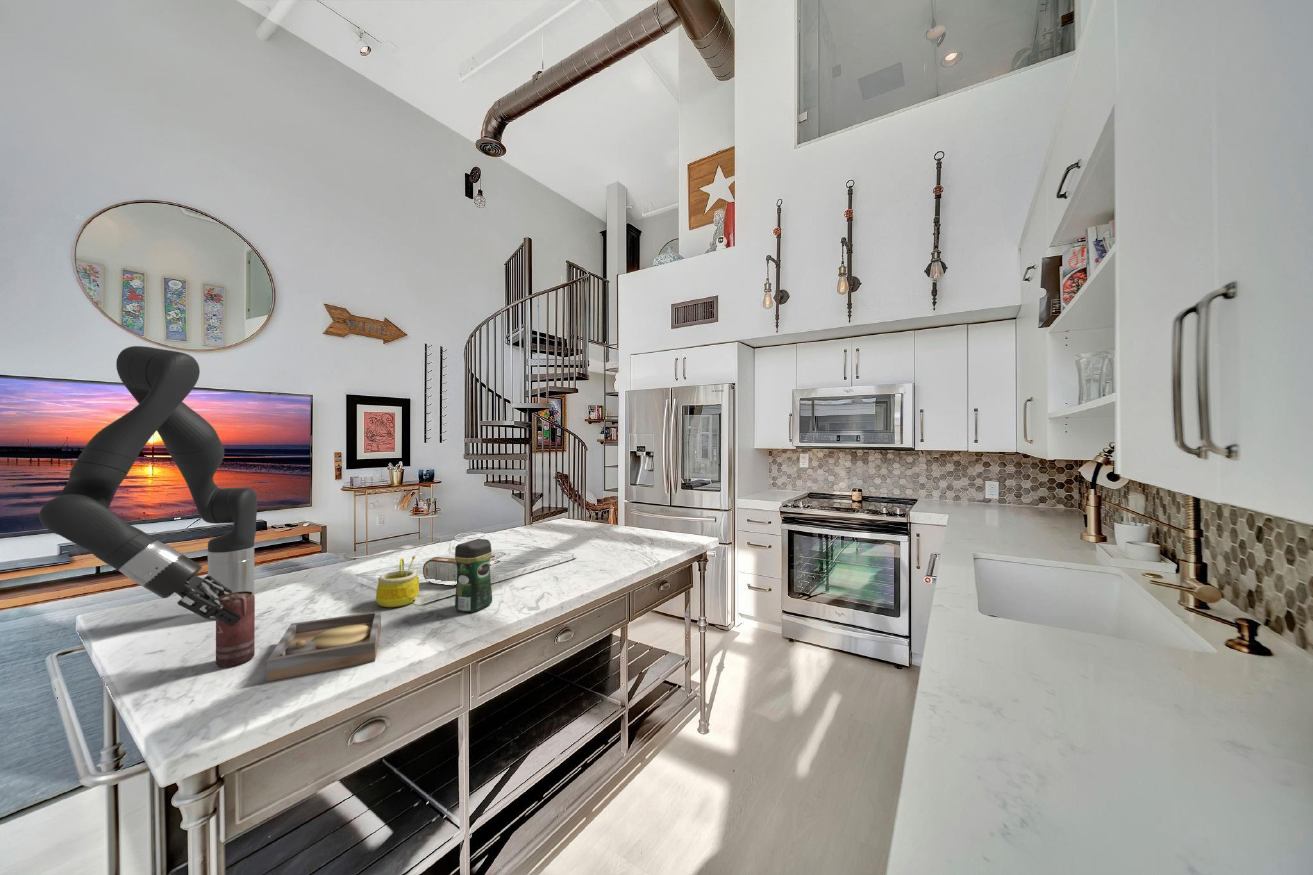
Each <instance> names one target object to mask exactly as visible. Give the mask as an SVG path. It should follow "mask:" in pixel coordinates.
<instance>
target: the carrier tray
mask: <svg viewBox="0 0 1313 875" xmlns="http://www.w3.org/2000/svg"><path fill="white" fill-rule="evenodd" d="M381 628H382V610H377V611H370V612H362V613H355V614H351V615H350V614H349V615H344V616H343V615H342V616H335V617H328V618H322V619H313V620H309V621H307V620H306V621H300V622H299V621H298V622H294V623H290V625H289V626H288V627H287V629H286V631H285V633H284V634H283V636H282V637H281V638H280V639H279V642H278V643H277V645H276V646H275V648H274V649H273V651H271V652H272V653H271V654H270V656H269V657H268V658H267V660H266V682H272V681H277V680H283V679H288V678H293V677H299V676H303V675H308V674H314V673H319V672H326V671H330V670H331V671H332V670H336V669H342V668H347V667H353V666H358V665H363V664H368V663H374V662H376V657H377V652H378V647H379V640H380V635H381Z"/></svg>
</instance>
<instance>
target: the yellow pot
mask: <svg viewBox="0 0 1313 875" xmlns="http://www.w3.org/2000/svg"><path fill="white" fill-rule="evenodd" d="M415 559H416V556H415V555H413V556H411V562H410V564H409V565H408V566H409V567H408V570H407V569H406V570H405V561H404V560H405V559H404V558H403V557H402V558H400V559H399V560H400V561H399V566H398V567H399V570H395V571H390V572H385V573H384V574H382V575H381V576H379V577H378V578H377V581H378V583H377V587H376V593H375V601H376V603H377V605H379V606H381V607H383V608H397V607H403V606H406V605H409V604H412V603H413V602H414V601H413V600H414V599H415V597H416V596H417V595H418V594H419V595H420V589H419V587H420V579H419V576H418V574H417V573H416V572H415V571H413V570H410V569H411V567H412V565H413V562H414V560H415Z"/></svg>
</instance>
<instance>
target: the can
mask: <svg viewBox="0 0 1313 875" xmlns="http://www.w3.org/2000/svg"><path fill="white" fill-rule="evenodd" d="M255 598H256V597H255V594H254V595H253V593H252V592H249V591H242V592H235V593H230V594H226V595H223V596H221V597H219V599H218V601H219V602H220V603H222V604H223V605H224V606H225V607H227V608H228V609H230V610H232V611H233V612H235V613H237V614H239V615H240V616H241V619H240V620H239V621H238V622H237V623H236V624H235V625H234V626H229V625H227V624H226V623H224V622H222V621H220V620H219V619H217V618H216V619H215V665H216V666H217V667H219V668H223V669H225V668H227V669H228V668H232V667H233V668H234V667H236V666H241V665H244V664H246V663H248V662H250V661H251V660H252V659H253V658H254V656H255V650H256V649H255V648H256V646H255V644H256V643H255V638H256V636H255V634H256V632H255V631H256V630H255V629H256V628H255V627H256V624H255V620H256V619H255V618H256V613H255V611H256V609H255V607H256V605H255V604H256V603H255V602H256V601H255V600H256V599H255ZM223 609H224V608H223Z"/></svg>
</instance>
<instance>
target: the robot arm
mask: <svg viewBox="0 0 1313 875" xmlns="http://www.w3.org/2000/svg"><path fill="white" fill-rule="evenodd" d="M119 352H120V353H119V354H118V355H117V358H116V362H115V364H116V365H115V367H116V371H117V375H118V376H119V377H118V378H119V379H120V381H121V382H122V384H123V385H124V387H125V388H126V389H127V391H128V392H129V393H130V394H131V396H132V398H134V400H135V401H136V402H137V405H136V406H134V408H132V409H131V410H130V411H128V412H126V414H124V415H122V416H121V417H119V418H117V419H116V420H114V421H112V422H111V423H110V424H108V425H107V426H105V427H104V428H102V429H100V431H98V432H97V433H95V435H94V436H92V437H91V439H89V441H88V442H87V443H86V445H85V446H84V448H83V450H82V451H81V452H80V454H79V455H78V456H77V459H76V460H75V461H74V464H72V467H71V469H70V472H69V476H68V477H69V478H68V481H67V482H66V484H65V485H64V487H63V489H62V490H61V492H60V493H59V495H58V496H56V497H54V498H52V499H50V500H48V501H47V502H46V503H45V504H44V505H42V507H41V508H40V510H39V514H38V518H39V522H40V523H41V525H42V526H43V528H45V529H47V530H48V531H50V532H51V533H53V534H55V535H59V536H60V537H62V538H64V539H66V540H68V541H70V542H72V543H74V544H75V545H78V546H79V547H81V548H83V549H85V550H87V551H88V552H89V553H91V554H92V555H93V556H94V557H96V558H98V559H99V560H100V561H102V562H104V563H105V564H106V565H108V566H110V567H111V568H113V569H115V570H117V571H118V572H120V573H121V574H123V575H124V576H125V577H127V578H128V579H129V580H131V581H133V582H135V583H136V584H138V585H139V586H141V587H143V588H145V589H146V590H148V591H149V592H151V593H153V594H154V595H157V596H158V597H160V598H161V599H168V598H169V597H171V596H172V595H173V594H174V593H175V594H177V595H178V596H179V597H180V598H181V599H180V600H178V601H177V602H176V603H177V605H179V606H180V607H182V608H184V609H187V610H188V611H190V612H192V613H194V614H196V615H198V616H200V617H202V618H203V619H206V620H208V619H214V620H216V618H217V619H219V620H220V621H222V622H224V623H226V624H227V625H229V626H234V625H235V624H236V623H237V622H238V621H239V620H240V619H241V616H240V615H239V614H237V613H235V612H233V611H232V610H230V609H228V608H227V607H225V606H224V605H223V604H222V603H220V602H219V601H218V599H219V597H221V596H223V595H226V594H230V593H235V592H242V591H249V592H252V593H253V595H254V596H255V539H256V533H257V514H258V498H257V494H256V491H255V490H253V489H252V488H248V487H232V488H231V487H229V488H228V487H227V488H225V487H224V488H222V487H218V486H217V485H216V483H215V480H214V476H215V474H216V472H217V471H218V469H219V468H220V466H221V464H222V462H223V460H224V458H225V448H224V446H223V443H222V441H221V439H220V437H219V435H218V432H217V431H216V430H215V428H214V427H213V425H212V424H210V423H209V422H208V421H207V420H206V419H205V418H204V417H203V416H201V415H200V414H199V413H198V412H196V411H195V410H194V409H193V408H191V407H189V406H188V405H187V404H186V403H185V402H183V401H184V400H185V399H186V398H187V397H188V396H189V394H190V393H191V392H192V390H193V389H194V388H195V386H196V385H197V382H198V381H199V378H200V373H201V371H200V365H199V363H198V362H197V360H196V359H195V358H194V356H192V355H191V354H187V353H185V352H181V351H176V350H170V349H169V350H168V349H163V348H158V347H157V348H156V347H150V346H145V345H144V346H142V345H134V346H128V347H125V348H124V349H122V350H121V351H119ZM156 432H157V434H158V435H159V437H160V439H161V440H162V442H163V445H164V447H165V449H166V451H167V452H168V454H169V456H170V457H171V459H172V460H173V462H174V464H175V465H176V467H177V469H178V470H179V472H180V474H181V475H182V478H183V480H184V481H185V483H186V486H187V487H188V490H189V493H190V494H191V495H190V496H191V497H192V500H193V502H194V505H195V508H196V510H197V512H198V515H199V516H200V518H201V519H202V520H203V521H204V522H205V523H208V524H217V525H218V524H233V526H232V529H231V530H230V531H229V532H227V533H225V534H222V535H219V536H216V537H214V538H212V539H209V540H208V542H207V575H206V576H205V577H203V578H202V577H200V576H198V575H197V574H198V573H199V572H200V571H201V570H202V569H203V567H202V565H201V564H199V563H197V562H196V561H194V560H192V559H191V558H189V557H188V556H186V555H185V554H183V553H181V552H180V551H178V550H176V549H175V548H174V547H172V546H170V545H168V544H166V543H163V542H162V541H159V540H158V539H156V538H155V537H153V536H151V535H149V534H148V533H146V532H145V531H143V530H141V529H139V528H137V527H135V526H133V525H131V524H129V523H128V522H126V521H125V520H124V519H122V518H121V517H120V516H118V515H117V514H116V513H114V512H113V511H111V510H110V509H109V508H110V505H111V504H112V502H113V500H114V497H115V494H116V493H117V490H118V488H119V487H120V485H121V484H122V483H123V481H124V480H125V478H126V477H127V476H128V474H129V472H130V471H131V468H132V467H133V466H134V464H135V462H136V460H137V459H138V457H139V455H140V453H141V452H142V451H143V449H144V448H145V446H146V444H147V443H148V441H149V440H150V439H151V438H152V437H153V436H154V434H155V433H156ZM223 608H224V609H223Z"/></svg>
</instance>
